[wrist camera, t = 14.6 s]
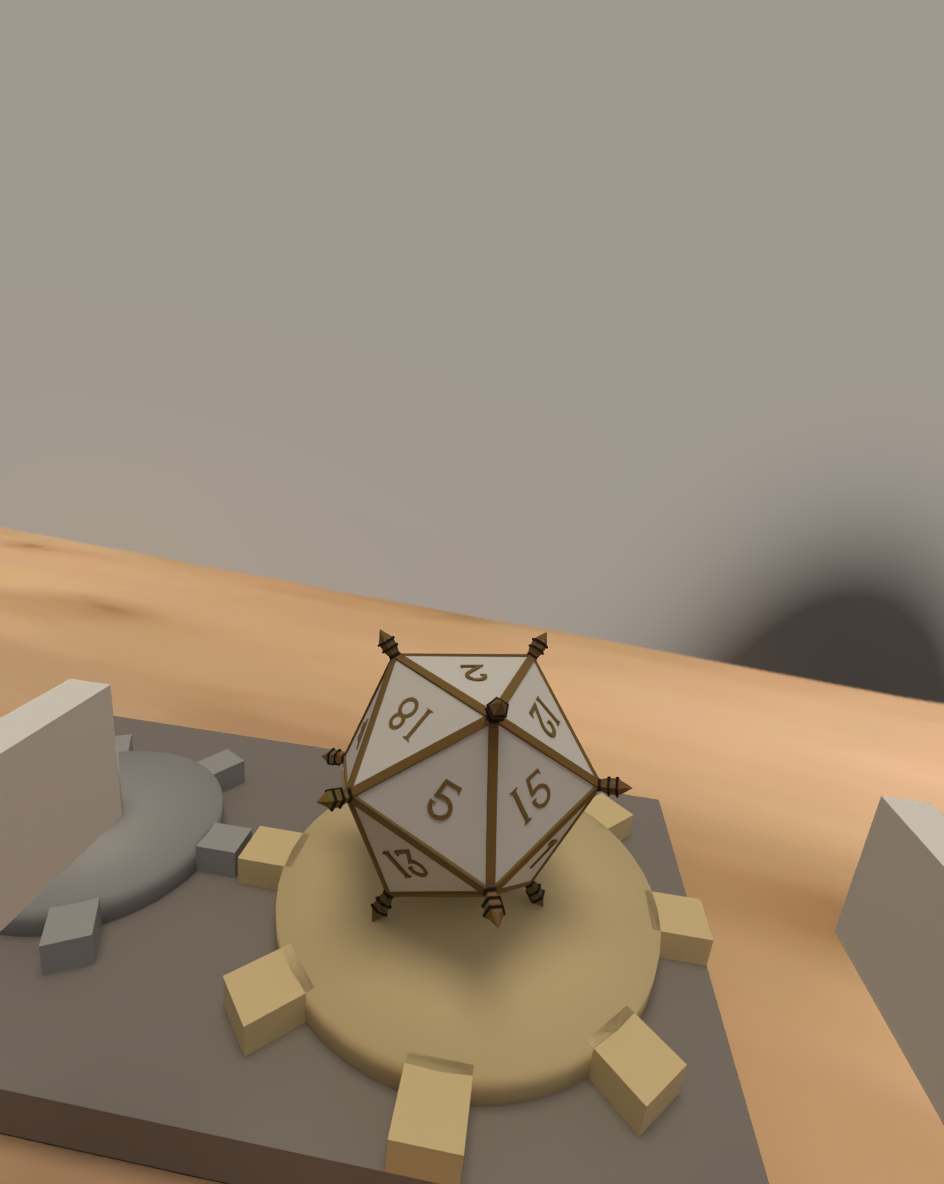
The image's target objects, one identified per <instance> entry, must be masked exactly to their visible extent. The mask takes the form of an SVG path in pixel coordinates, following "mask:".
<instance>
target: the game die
mask: <svg viewBox="0 0 944 1184" xmlns="http://www.w3.org/2000/svg"><path fill="white" fill-rule="evenodd" d="M394 638H395V637H394V636H390V635H388V634H387V633H385V632H383V631H382V630H380V637H379V645H378V647H379V646H380V647H381V648H382V650H383V651H382V653H385V654H387V655H388V656H389V658H390V661H389V663H388V665H387V667H386V669H385V671H384V673H383V675H382V678H381V680H380V682H379V684H378V686H377V688H376V690H375V692H374V694H373V696H372V698H371V700H370V702H369V705H368V707H367V709H366V711H365V713H364V715H363V717H362V719H361V721H360V723H359V725H358V727H357V729H356V731H355V734H354V736H353V738H352V740H351V742H350V744H349V746H348V748H347V750H346V752H345V753H344V752H342V751H341V749H339V750H335V748H332V749H331V750H330V751H329V752H328V753H326V754H324V755H322V757H323V759H324V760H325V761H326V762H327V764H328V765H338V766H340V765H341V764H343V766H344V782H345V789H342V787H339V788H335V789H334V788H331V789H327V790H325V793H324V794H323V795H322V796H321V797H320V798H319V800H318V801H317V803H319V804H321V805H323V806H325V807H327V808H328V809H329V810H330V811H331V812H332V811H334V809H335V808H339V809H341V808H342V806H343V805H344V804H346V803H347V804H348V806H349V808H350V811H351V813H352V815H353V818H354V820H355V822H356V825H357V827H358V829H359V832H360V834H361V837H362V839H363V841H364V844H365V846H366V848H367V851H368V853H369V855H370V858H371V860H372V862H373V865H374V867H375V869H376V872H377V874H378V877H379V879H380V881H381V884H382V886H383V888H384V891H383V893H382V894H381V895H380V896H377V897H376V898H375V899H376V901H375V902H374V903H373V904H371V905H370V906H371V907H372V922H373V921H375V920H377V919H379V918H382V917H384V916H385V917H387V912H388V910H389V909H391V908H392V907H391V902H392V899H393V898H394V897H484V902H483V904H482V905H481V907H482V908H484V913H483V917H484V918H487V919H489V920H490V921H491V922H492V923H493V924H494V925H495V926H496V927H497V928H498V929H499V926H500V923H501V921H502V918H503V916H504V915H506V913H505V909H504V905H503V903H502V899H501V896H498V894H502V893H505V892H508V891H512V890H515V889H518V888H522V887H526V891H525V892H526V894H527V895H528V898H529V900H530V901H531V902H532V904H534V903H535V904H537V905H540V906H542V907H543V901H544V893H545V890H542V888H541V884H538V883H536V882H535V881H534V880H535V878H536V877H537V875H538V874H539V873H540V871H541V870H542V869H543V867H544V866H545V864H546V863H547V862H548V860H549V859H550V857H551V856H552V855H553V853H554V852H555V851H556V849H557V848H558V846H559V845H560V844H561V842H562V841H563V840H564V838H565V837H566V835H567V834H568V833H569V831H570V830H571V828H572V827H573V826H574V824H575V823H576V822H577V820H578V819H579V817H580V816H581V815H582V813H583V812H584V811H585V809H586V808H587V806H588V805H589V804H590V802H591V801H592V799H593V798H594V797H595V795H596V794H597V793H598V792H600V791H602V792H604V793H606V794H607V795H608V796H610V795H616V798H618V796H619V795H621V794H623V793H624V792H626V791H628V790H630V789H632V787H630V786H629V785H627V784H626V783H624V782H623V781H621V780H619V777H616V779H615V778H611V777H608V778H606V779H599V778H598V776H597V774H596V772H595V770H594V768H593V767H592V765H591V763H590V761H589V759H588V757H587V755H586V753H585V751H584V750H583V748H582V746H581V744H580V742H579V740H578V738H577V736H576V735H575V733H574V731H573V729H572V727H571V725H570V723H569V721H568V719H567V718H566V716H565V714H564V712H563V710H562V708H561V706H560V704H559V702H558V701H557V699H556V697H555V695H554V693H553V691H552V689H551V687H550V686H549V684H548V682H547V680H546V678H545V676H544V674H543V672H542V670H541V669H540V667H539V665H538V663H537V661H536V660H537V658H538V657H539V656H540V655H541V654H542V655H543V654H544V653H543V651H544V650H545V648H548V647H547V632H546V633H544V634H542V635H540V636H538V637H536V638H532V640H533V641H532V643H531V645H530V644H529V651H528V653H527V654H402V653H400V652H399V651H398V647H397V645H398V643H396V642H395V641H394Z"/></svg>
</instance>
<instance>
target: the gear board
mask: <svg viewBox="0 0 944 1184" xmlns="http://www.w3.org/2000/svg"><path fill="white" fill-rule="evenodd" d="M113 719H114V731H115V742H116V753H117V764H118V775H119V786H120V797H121V808H122V816H121V817H120V818H119V819H118V820H117V821H116V822H115V823H114V824H113V825H112V826H111V827H109V828H108V829H107V830H106V831H105V832H104V833H103V834H102V835H101V836H100V837H99V838H98V839H97V840H96V841H95V842H94V843H93V844H92V845H91V846H90V847H89V848H87V849H86V850H85V851H84V852H83V853H82V854H81V855H80V856H79V857H78V858H77V859H76V860H75V861H74V862H73V863H72V864H71V865H70V866H69V867H68V868H67V869H66V870H64V871H63V872H62V873H61V874H60V875H59V876H58V877H57V878H56V879H55V880H54V881H53V882H52V883H51V884H50V885H49V886H48V887H47V888H46V889H45V890H44V891H42V892H41V893H40V894H39V895H38V896H37V897H36V898H35V899H34V900H33V901H32V902H31V903H30V904H29V905H28V906H27V907H26V908H25V909H24V910H23V911H22V912H20V913H19V914H18V915H17V916H16V917H15V918H14V919H13V920H12V921H11V922H10V923H9V924H8V925H7V926H6V927H5V928H4V929H3V930H2V931H1V932H0V1133H3V1134H7V1135H12V1136H16V1137H21V1138H25V1139H30V1140H34V1141H39V1142H43V1143H48V1144H52V1145H57V1146H61V1147H66V1148H70V1149H75V1150H79V1151H84V1152H88V1153H93V1154H97V1155H102V1156H106V1157H111V1158H115V1159H120V1160H124V1161H129V1162H133V1163H138V1164H142V1165H147V1166H151V1167H156V1168H160V1169H165V1170H169V1171H174V1172H178V1173H183V1174H187V1175H192V1176H196V1177H201V1178H205V1179H210V1180H214V1181H219V1182H223V1183H228V1184H769V1182H768V1179H767V1175H766V1172H765V1168H764V1165H763V1161H762V1158H761V1154H760V1151H759V1147H758V1144H757V1140H756V1137H755V1133H754V1130H753V1126H752V1123H751V1119H750V1116H749V1113H748V1109H747V1106H746V1102H745V1099H744V1095H743V1092H742V1088H741V1085H740V1081H739V1078H738V1074H737V1071H736V1067H735V1064H734V1060H733V1057H732V1053H731V1050H730V1046H729V1043H728V1039H727V1036H726V1032H725V1029H724V1026H723V1022H722V1019H721V1015H720V1012H719V1008H718V1005H717V1001H716V998H715V994H714V991H713V987H712V984H711V980H710V977H709V973H708V970H707V966H706V965H707V962H708V958H709V954H710V951H711V947H712V943H713V938H712V935H711V931H710V928H709V925H708V922H707V919H706V915H705V912H704V909H703V906H702V903H701V900H700V899H695V898H689V897H686V893H685V890H684V886H683V883H682V879H681V876H680V872H679V869H678V865H677V862H676V859H675V855H674V852H673V848H672V845H671V841H670V838H669V834H668V831H667V827H666V824H665V820H664V817H663V813H662V810H661V806H660V803H659V800H656V799H650V798H643V797H637V796H630V795H624V794H621V795H619V796H618V798H616V795H610V796H608V795H607V794H606V793H604V792H602V791H600V792H598V793H597V794H596V795H595V797H594V798H593V799H592V801H591V802H590V804H589V805H588V806H587V808H586V809H585V811H584V812H583V813H582V815H581V816H580V817H579V819H578V820H577V822H576V823H575V824H574V826H573V827H572V828H571V830H570V831H569V833H568V834H567V835H566V837H565V838H564V840H563V841H562V842H561V844H560V845H559V846H558V848H557V849H556V851H555V852H554V853H553V855H552V856H551V857H550V859H549V860H548V862H547V863H546V864H545V866H544V867H543V869H542V870H541V871H540V873H539V874H538V875H537V877H536V878H535V880H534V881H535V882H536V883H538V884H541V888H542V890H545V893H544V901H543V907H542V906H540V905H537V904H535V903H534V904H532V902H531V901H530V900H529V898H528V895H527V894H526V892H525V891H526V887H522V888H518V889H515V890H512V891H508V892H505V893H502V894H498V896H501V899H502V903H503V905H504V909H505V913H506V915H504V916H503V918H502V921H501V923H500V926H499V929H498V928H497V927H496V926H495V925H494V924H493V923H492V922H491V921H490V920H489V919H487V918H484V917H483V913H484V908H482V907H481V905H482V904H483V902H484V897H394V898H393V899H392V902H391V907H392V908H391V909H389V910H388V912H387V917H385V916H384V917H382V918H379V919H377V920H375V921H373V922H372V907H371V906H370V905H371V904H373V903H374V902H375V901H376V899H375V898H376V897H377V896H380V895H381V894H382V893H383V891H384V888H383V886H382V884H381V881H380V879H379V877H378V874H377V872H376V869H375V867H374V865H373V862H372V860H371V858H370V855H369V853H368V851H367V848H366V846H365V844H364V841H363V839H362V837H361V834H360V832H359V829H358V827H357V825H356V822H355V820H354V818H353V815H352V813H351V811H350V808H349V806H348V804H347V803H346V804H344V805H343V806H342V808H341V809H339V808H335V809H334V811H332V812H331V811H330V810H329V809H328V808H327V807H325V806H323V805H321V804H319V803H317V801H318V800H319V798H320V797H321V796H322V795H323V794H324V793H325V790H327V789H331V788H334V789H335V788H339V787H342V789H345V782H344V766H343V764H341V765H340V766H338V765H328V764H327V762H326V761H325V760H324V759H323V757H322V755H324V754H326V753H328V752H329V751H330V750H331V749H325V748H318V747H312V746H305V745H299V744H292V743H286V742H279V741H273V740H266V739H260V738H253V737H247V736H240V735H234V734H227V733H221V732H214V731H208V730H201V729H195V728H188V727H182V726H175V725H169V724H162V723H156V722H149V721H143V720H136V719H130V718H123V717H117V716H113ZM342 752H344V751H342ZM344 753H345V752H344Z"/></svg>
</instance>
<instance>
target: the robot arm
mask: <svg viewBox="0 0 944 1184" xmlns="http://www.w3.org/2000/svg"><path fill="white" fill-rule="evenodd" d="M121 816H122V808H121V797H120V786H119V775H118V764H117V753H116V742H115V731H114V719H113V708H112V697H111V686H110V685H109V684H102V683H95V682H88V681H81V680H74V679H69V680H67V681H65V682H64V683H62V684H60V685H58V686H56V687H55V688H53V689H51V690H49V691H48V692H46V693H44V694H42V695H40V696H39V697H37V698H35V699H33V700H31V701H30V702H28V703H26V704H24V705H23V706H21V707H19V708H17V709H15V710H14V711H12V712H10V713H8V714H7V715H5V716H3V717H1V718H0V932H1V931H2V930H3V929H4V928H5V927H6V926H7V925H8V924H9V923H10V922H11V921H12V920H13V919H14V918H15V917H16V916H17V915H18V914H19V913H20V912H22V911H23V910H24V909H25V908H26V907H27V906H28V905H29V904H30V903H31V902H32V901H33V900H34V899H35V898H36V897H37V896H38V895H39V894H40V893H41V892H42V891H44V890H45V889H46V888H47V887H48V886H49V885H50V884H51V883H52V882H53V881H54V880H55V879H56V878H57V877H58V876H59V875H60V874H61V873H62V872H63V871H64V870H66V869H67V868H68V867H69V866H70V865H71V864H72V863H73V862H74V861H75V860H76V859H77V858H78V857H79V856H80V855H81V854H82V853H83V852H84V851H85V850H86V849H87V848H89V847H90V846H91V845H92V844H93V843H94V842H95V841H96V840H97V839H98V838H99V837H100V836H101V835H102V834H103V833H104V832H105V831H106V830H107V829H108V828H109V827H111V826H112V825H113V824H114V823H115V822H116V821H117V820H118V819H119V818H120V817H121ZM835 933H836V935H837V936H838V938H839V940H840V942H841V943H842V945H843V947H844V949H845V951H846V952H847V954H848V956H849V958H850V959H851V961H852V963H853V965H854V967H855V968H856V970H857V972H858V974H859V975H860V977H861V979H862V981H863V982H864V984H865V986H866V988H867V990H868V991H869V993H870V995H871V997H872V998H873V1000H874V1002H875V1004H876V1006H877V1007H878V1009H879V1011H880V1013H881V1014H882V1016H883V1018H884V1020H885V1021H886V1023H887V1025H888V1027H889V1029H890V1030H891V1032H892V1034H893V1036H894V1037H895V1039H896V1041H897V1043H898V1045H899V1046H900V1048H901V1050H902V1052H903V1053H904V1055H905V1057H906V1059H907V1061H908V1062H909V1064H910V1066H911V1068H912V1069H913V1071H914V1073H915V1075H916V1076H917V1078H918V1080H919V1082H920V1084H921V1085H922V1087H923V1089H924V1091H925V1092H926V1094H927V1096H928V1098H929V1100H930V1101H931V1103H932V1105H933V1107H934V1108H935V1110H936V1112H937V1114H938V1115H939V1117H940V1119H941V1121H942V1123H943V1124H944V815H943V814H942V813H941V812H940V811H939V810H938V809H937V808H936V807H935V806H934V805H933V804H932V803H927V802H920V801H913V800H906V799H899V798H892V797H885V796H881V799H880V801H879V804H878V807H877V810H876V813H875V816H874V819H873V822H872V825H871V827H870V830H869V833H868V836H867V839H866V842H865V845H864V848H863V851H862V853H861V856H860V859H859V862H858V865H857V868H856V871H855V874H854V876H853V879H852V882H851V885H850V888H849V891H848V894H847V897H846V900H845V902H844V905H843V908H842V911H841V914H840V917H839V920H838V923H837V926H836V928H835Z"/></svg>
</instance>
